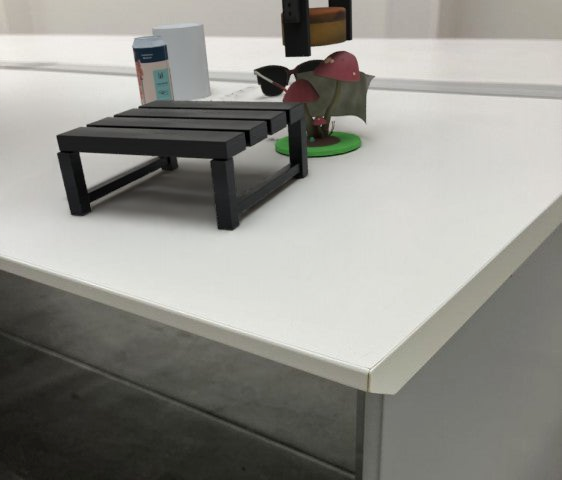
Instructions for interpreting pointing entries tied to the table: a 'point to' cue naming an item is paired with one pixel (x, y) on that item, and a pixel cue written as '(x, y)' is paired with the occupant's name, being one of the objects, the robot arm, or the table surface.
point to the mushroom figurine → (328, 88)
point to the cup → (186, 60)
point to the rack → (186, 147)
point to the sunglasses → (281, 76)
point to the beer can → (152, 69)
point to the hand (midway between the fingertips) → (321, 48)
